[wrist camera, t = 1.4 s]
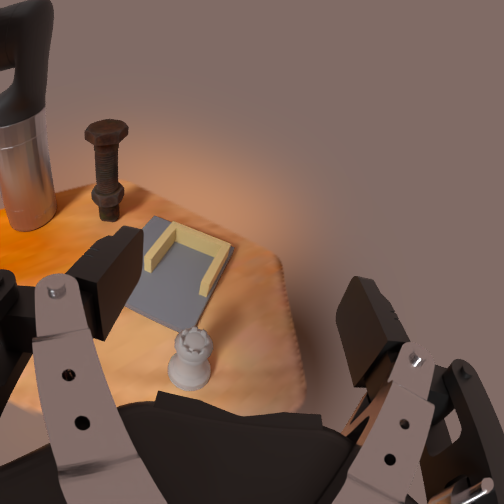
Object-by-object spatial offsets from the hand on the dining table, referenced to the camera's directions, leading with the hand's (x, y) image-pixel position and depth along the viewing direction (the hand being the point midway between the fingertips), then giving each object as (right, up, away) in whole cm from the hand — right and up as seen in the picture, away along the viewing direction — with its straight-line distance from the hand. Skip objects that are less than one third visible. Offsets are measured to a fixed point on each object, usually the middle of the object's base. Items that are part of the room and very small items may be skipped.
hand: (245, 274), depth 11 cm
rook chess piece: (-6, -12, +17) cm, 22 cm away
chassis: (-11, -1, +26) cm, 28 cm away
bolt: (-21, +6, +30) cm, 37 cm away
